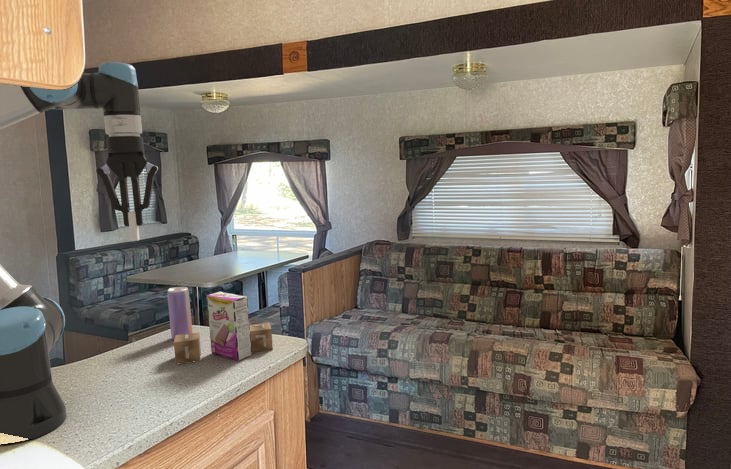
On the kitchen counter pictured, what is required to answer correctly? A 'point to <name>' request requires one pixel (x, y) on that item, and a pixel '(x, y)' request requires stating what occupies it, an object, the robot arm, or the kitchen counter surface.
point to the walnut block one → (187, 348)
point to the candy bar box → (229, 325)
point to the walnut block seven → (261, 337)
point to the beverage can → (179, 311)
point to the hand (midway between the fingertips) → (135, 240)
